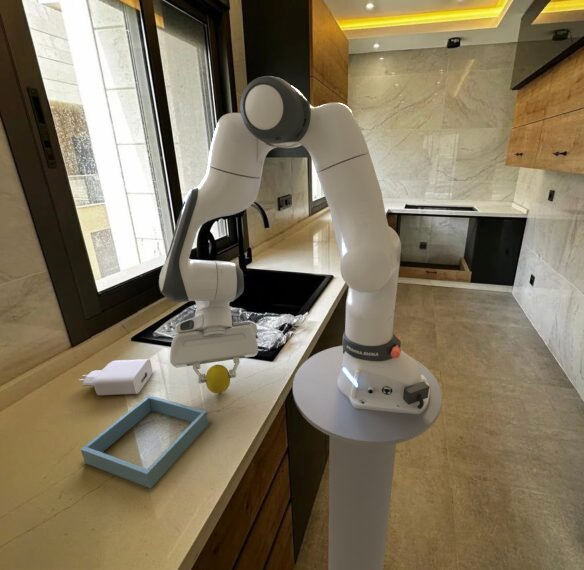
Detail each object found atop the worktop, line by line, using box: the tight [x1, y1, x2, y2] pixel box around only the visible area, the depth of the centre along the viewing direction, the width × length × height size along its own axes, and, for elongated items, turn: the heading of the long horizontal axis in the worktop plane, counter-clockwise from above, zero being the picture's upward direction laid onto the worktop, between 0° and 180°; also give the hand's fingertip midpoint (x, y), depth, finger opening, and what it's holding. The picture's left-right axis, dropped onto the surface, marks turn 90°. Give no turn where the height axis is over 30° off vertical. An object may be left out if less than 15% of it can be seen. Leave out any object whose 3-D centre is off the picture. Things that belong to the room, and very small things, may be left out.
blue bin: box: [80, 394, 210, 489], centre depth 65 cm, size 16×16×4 cm
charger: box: [77, 358, 153, 396], centre depth 81 cm, size 5×9×15 cm
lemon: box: [205, 364, 231, 395], centre depth 78 cm, size 6×6×8 cm
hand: (217, 380), depth 77 cm, fingers closed on lemon, 5 cm apart
